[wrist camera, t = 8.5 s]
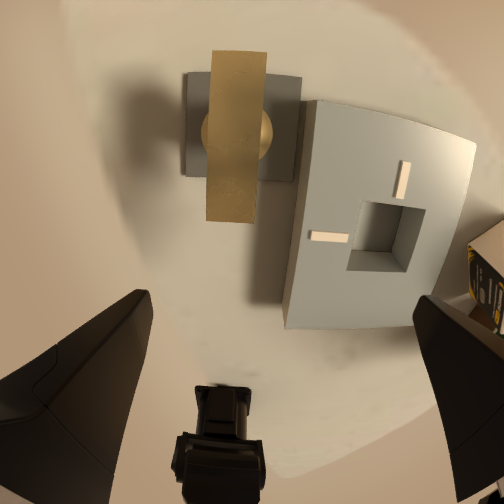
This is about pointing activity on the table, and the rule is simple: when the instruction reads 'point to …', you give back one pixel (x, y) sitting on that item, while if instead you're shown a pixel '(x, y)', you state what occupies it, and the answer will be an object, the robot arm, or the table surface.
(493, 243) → the medicine bottle
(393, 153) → the grey socket block
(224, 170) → the t key
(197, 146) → the pad
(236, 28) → the table surface
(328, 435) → the table surface
